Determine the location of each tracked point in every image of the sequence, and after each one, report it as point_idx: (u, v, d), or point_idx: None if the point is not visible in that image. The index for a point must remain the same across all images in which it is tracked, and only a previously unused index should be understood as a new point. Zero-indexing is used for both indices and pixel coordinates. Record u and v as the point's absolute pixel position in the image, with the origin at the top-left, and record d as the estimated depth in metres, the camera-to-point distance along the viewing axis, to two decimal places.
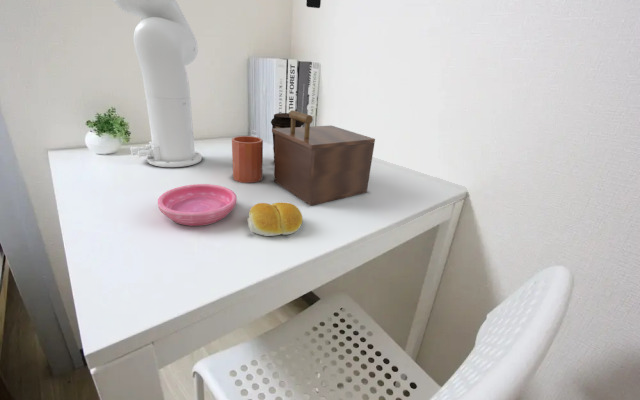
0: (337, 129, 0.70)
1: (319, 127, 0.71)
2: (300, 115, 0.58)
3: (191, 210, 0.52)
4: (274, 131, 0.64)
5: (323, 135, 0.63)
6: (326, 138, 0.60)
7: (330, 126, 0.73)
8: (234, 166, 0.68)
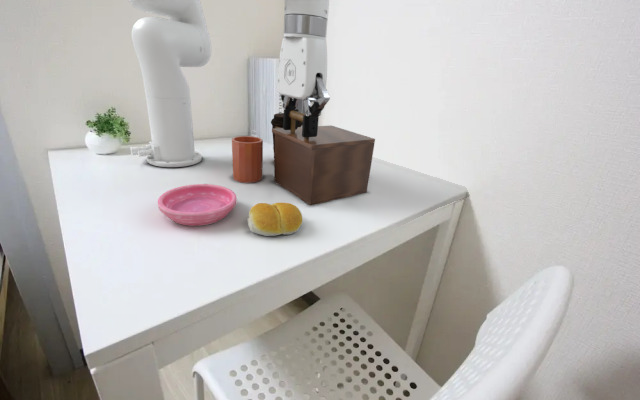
0: (337, 129, 0.70)
1: (319, 127, 0.71)
2: (300, 115, 0.58)
3: (191, 210, 0.52)
4: (274, 131, 0.64)
5: (323, 135, 0.63)
6: (326, 138, 0.60)
7: (330, 126, 0.73)
8: (234, 166, 0.68)
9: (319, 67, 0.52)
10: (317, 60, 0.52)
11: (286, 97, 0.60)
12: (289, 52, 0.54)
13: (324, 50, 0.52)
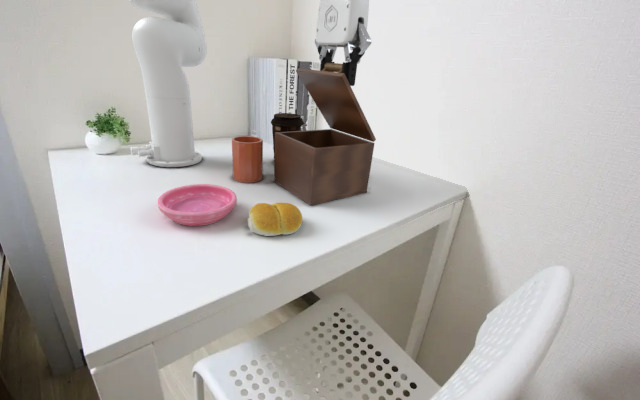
0: None
1: None
2: None
3: (191, 210, 0.52)
4: (300, 69, 0.63)
5: None
6: None
7: None
8: (234, 166, 0.68)
9: (361, 11, 0.53)
10: (360, 4, 0.53)
11: (324, 47, 0.61)
12: None
13: None
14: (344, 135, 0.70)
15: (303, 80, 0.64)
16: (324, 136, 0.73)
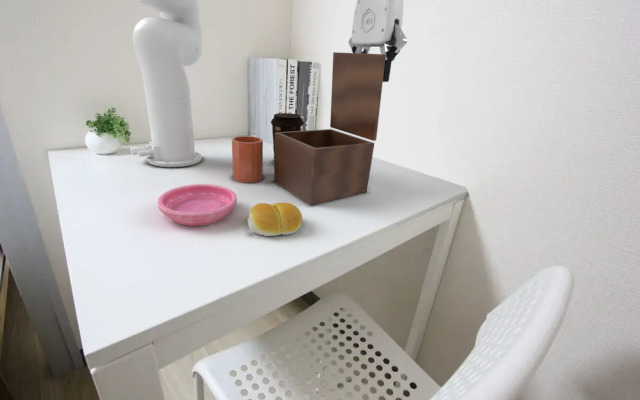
0: None
1: None
2: None
3: (191, 210, 0.52)
4: None
5: None
6: None
7: None
8: (234, 166, 0.68)
9: (397, 13, 0.59)
10: (396, 7, 0.58)
11: (359, 47, 0.66)
12: (368, 1, 0.60)
13: None
14: (344, 135, 0.70)
15: (335, 63, 0.68)
16: (324, 136, 0.73)
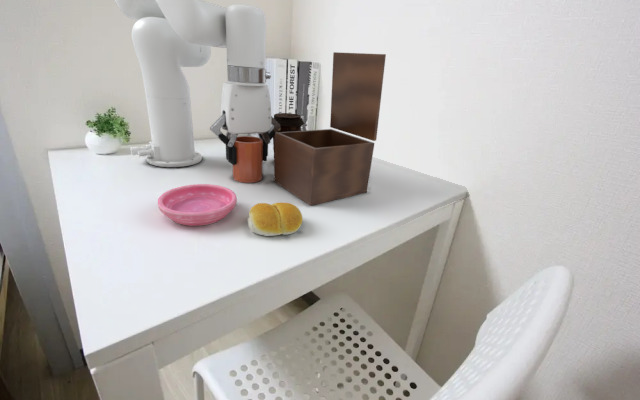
0: None
1: None
2: None
3: (191, 210, 0.52)
4: None
5: None
6: None
7: None
8: (234, 166, 0.68)
9: (223, 106, 0.62)
10: (223, 100, 0.62)
11: None
12: None
13: (227, 92, 0.60)
14: (344, 135, 0.70)
15: (335, 63, 0.68)
16: (324, 136, 0.73)
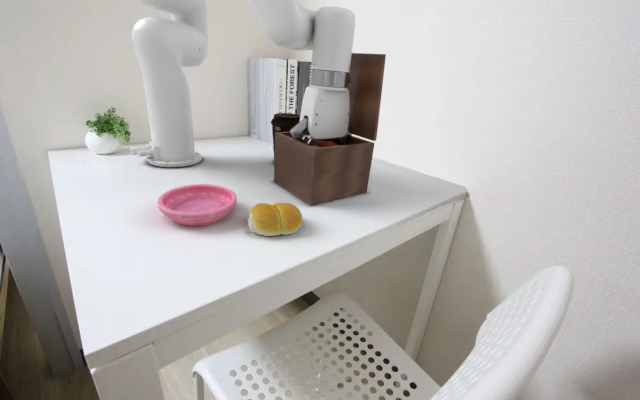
0: None
1: None
2: None
3: (191, 210, 0.52)
4: None
5: None
6: None
7: None
8: None
9: (306, 111, 0.60)
10: (305, 105, 0.60)
11: None
12: None
13: (312, 97, 0.58)
14: None
15: None
16: None
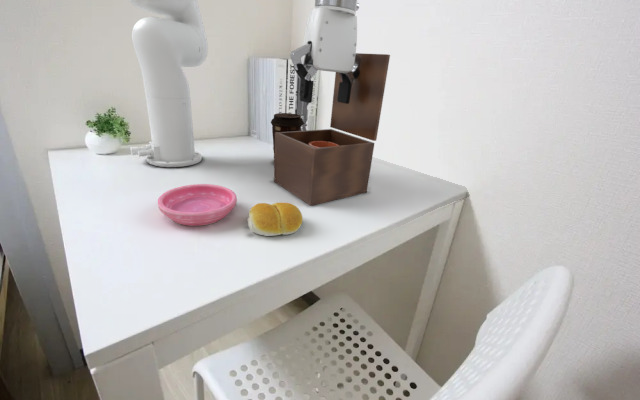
0: None
1: None
2: None
3: (191, 210, 0.52)
4: None
5: None
6: None
7: None
8: None
9: (310, 35, 0.55)
10: (309, 29, 0.55)
11: None
12: None
13: (317, 18, 0.53)
14: (344, 135, 0.70)
15: None
16: (324, 136, 0.73)
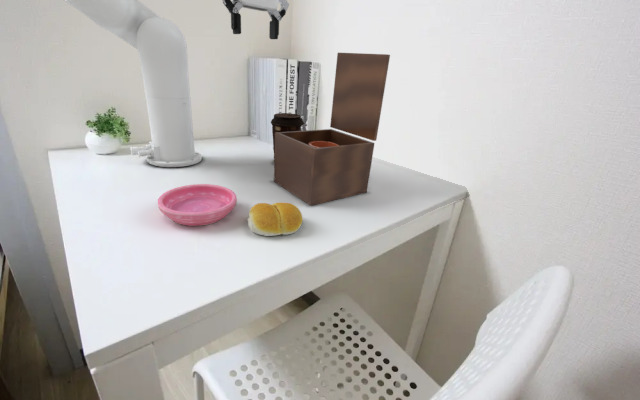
0: None
1: None
2: None
3: (191, 210, 0.52)
4: None
5: None
6: None
7: None
8: None
9: None
10: None
11: None
12: None
13: None
14: (344, 135, 0.70)
15: (338, 63, 0.68)
16: (324, 136, 0.73)
